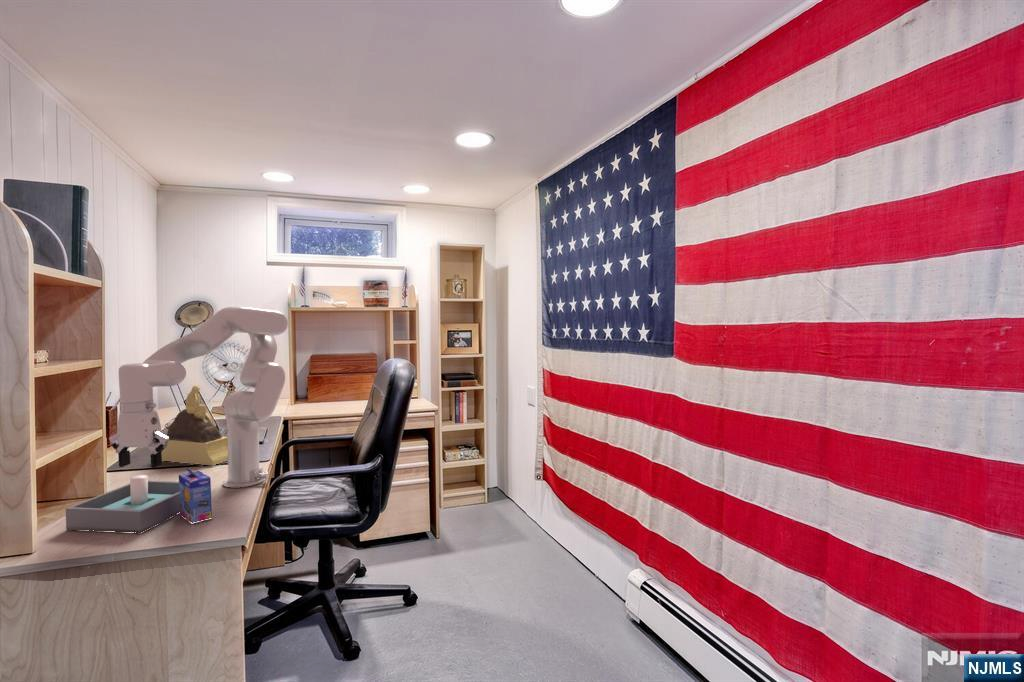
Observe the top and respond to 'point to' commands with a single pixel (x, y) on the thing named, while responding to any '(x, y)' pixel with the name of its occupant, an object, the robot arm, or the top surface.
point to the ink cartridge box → (195, 496)
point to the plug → (139, 489)
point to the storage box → (125, 509)
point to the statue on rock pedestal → (195, 435)
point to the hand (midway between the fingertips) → (140, 466)
